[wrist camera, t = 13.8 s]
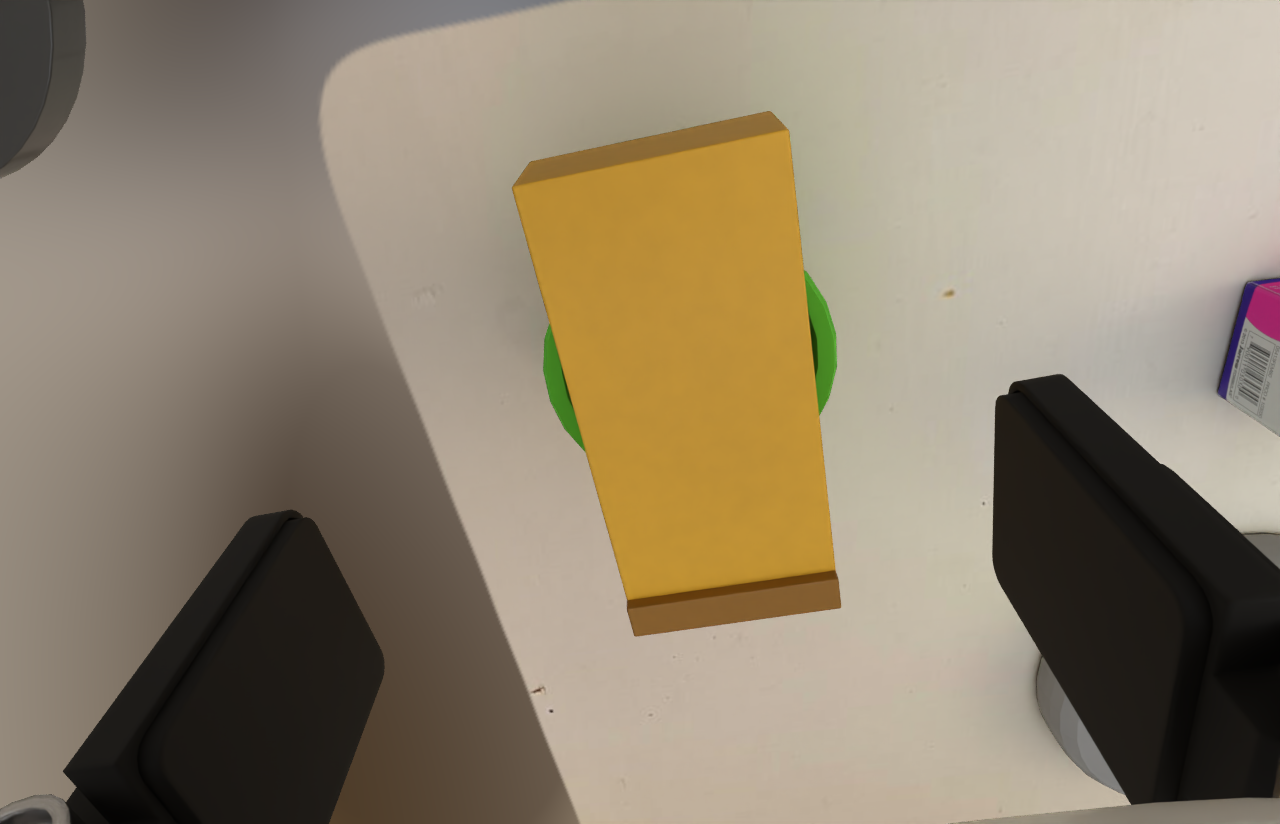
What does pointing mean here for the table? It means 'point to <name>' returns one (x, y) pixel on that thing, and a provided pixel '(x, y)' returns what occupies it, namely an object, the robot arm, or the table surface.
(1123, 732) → the robot arm
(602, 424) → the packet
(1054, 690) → the grey frisbee
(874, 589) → the table surface
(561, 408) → the cup
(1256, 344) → the supplement box
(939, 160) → the table surface
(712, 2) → the table surface
